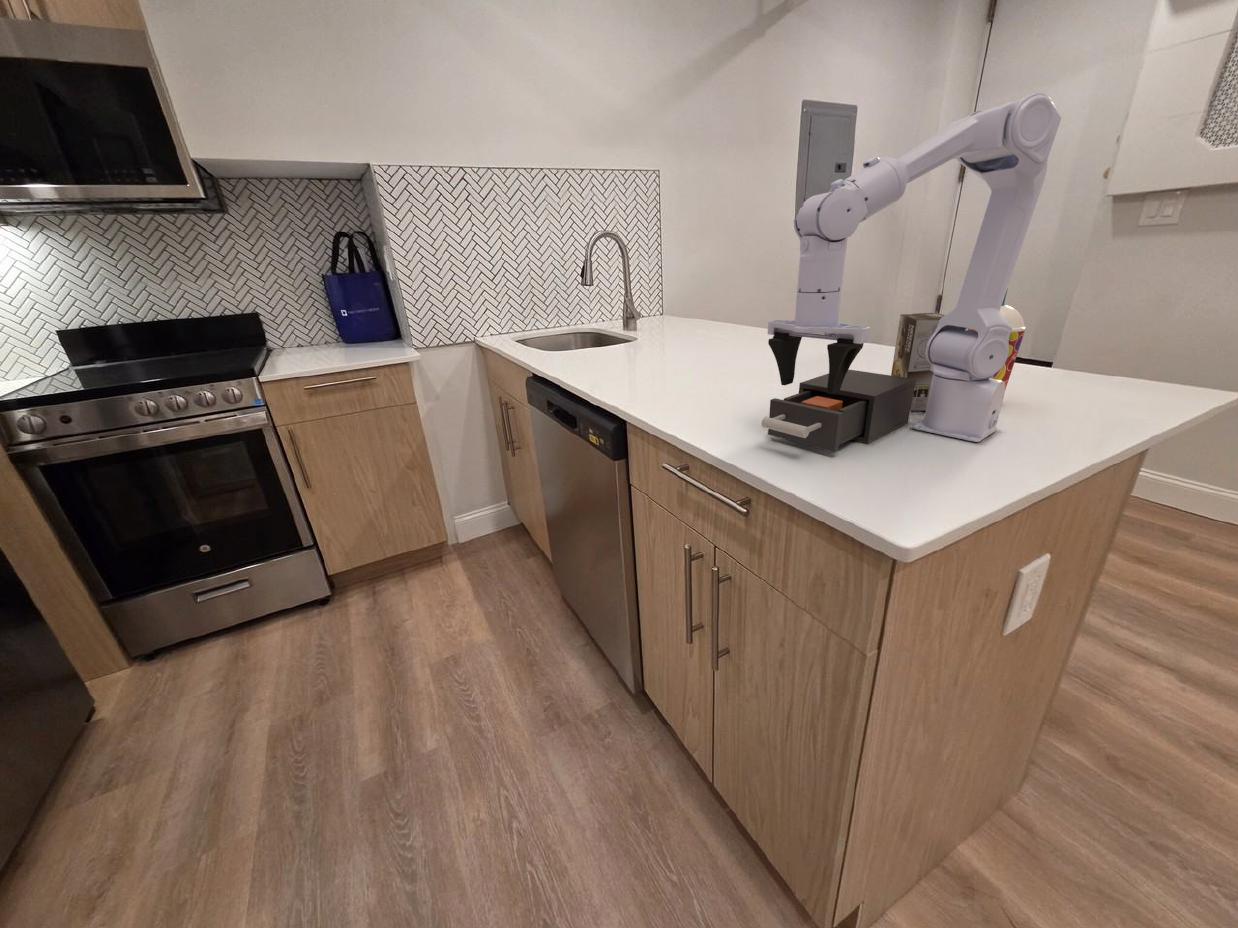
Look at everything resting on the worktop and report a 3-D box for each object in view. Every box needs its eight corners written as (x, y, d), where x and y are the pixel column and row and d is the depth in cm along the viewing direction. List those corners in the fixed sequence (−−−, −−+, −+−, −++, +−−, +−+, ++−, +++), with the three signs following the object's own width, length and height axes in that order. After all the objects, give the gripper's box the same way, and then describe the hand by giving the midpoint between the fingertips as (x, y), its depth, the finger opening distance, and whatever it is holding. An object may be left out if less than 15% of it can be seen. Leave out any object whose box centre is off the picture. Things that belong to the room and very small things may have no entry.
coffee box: (939, 411, 89) (958, 318, 83) (900, 411, 91) (916, 319, 84) (922, 397, 98) (938, 311, 91) (886, 397, 99) (899, 312, 93)
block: (839, 428, 79) (843, 401, 77) (824, 435, 76) (827, 407, 74) (814, 422, 82) (816, 395, 80) (798, 428, 79) (800, 401, 78)
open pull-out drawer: (814, 462, 70) (819, 422, 67) (748, 442, 78) (749, 406, 76) (876, 431, 79) (882, 396, 77) (811, 416, 88) (815, 384, 85)
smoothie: (944, 396, 98) (966, 287, 90) (991, 395, 97) (1018, 285, 89) (965, 408, 90) (991, 291, 82) (1016, 408, 89) (1048, 289, 81)
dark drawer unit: (867, 444, 77) (875, 396, 74) (795, 426, 86) (799, 382, 83) (908, 423, 85) (916, 379, 82) (837, 408, 94) (842, 368, 91)
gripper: (757, 292, 72) (752, 385, 77) (854, 295, 61) (841, 402, 67) (786, 288, 76) (779, 377, 81) (883, 290, 65) (868, 392, 70)
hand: (809, 388), depth 74 cm, fingers open, 7 cm apart
